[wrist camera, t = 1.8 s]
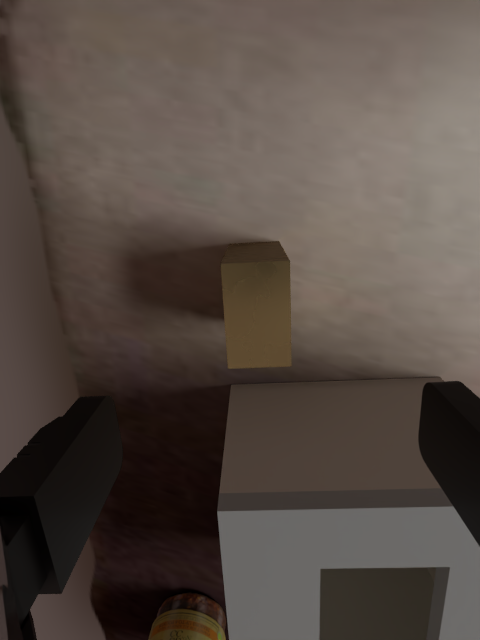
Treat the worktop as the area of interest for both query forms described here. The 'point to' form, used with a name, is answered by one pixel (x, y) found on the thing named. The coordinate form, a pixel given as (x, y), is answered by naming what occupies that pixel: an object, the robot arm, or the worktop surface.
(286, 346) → the tall khaki box
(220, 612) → the sauce bottle
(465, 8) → the worktop surface
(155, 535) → the worktop surface
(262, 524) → the grey box with opening
